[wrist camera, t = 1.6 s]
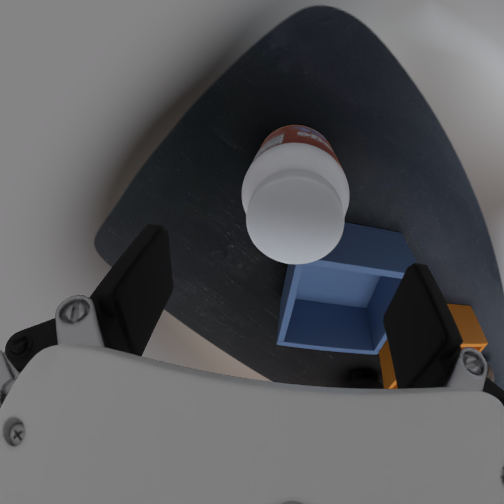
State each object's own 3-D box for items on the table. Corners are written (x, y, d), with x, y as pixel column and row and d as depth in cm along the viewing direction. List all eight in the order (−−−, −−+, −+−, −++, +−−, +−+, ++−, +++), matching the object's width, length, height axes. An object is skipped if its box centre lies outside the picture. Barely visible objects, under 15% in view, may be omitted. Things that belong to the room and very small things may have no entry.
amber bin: (410, 299, 28) (425, 343, 23) (470, 305, 28) (488, 343, 22) (378, 352, 34) (384, 392, 29) (435, 353, 34) (444, 389, 28)
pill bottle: (348, 166, 22) (384, 235, 13) (292, 207, 25) (287, 295, 16) (299, 107, 20) (305, 131, 11) (242, 155, 23) (204, 217, 13)
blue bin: (297, 214, 25) (297, 256, 20) (401, 232, 24) (423, 276, 19) (281, 297, 31) (276, 344, 25) (368, 308, 30) (376, 354, 25)
